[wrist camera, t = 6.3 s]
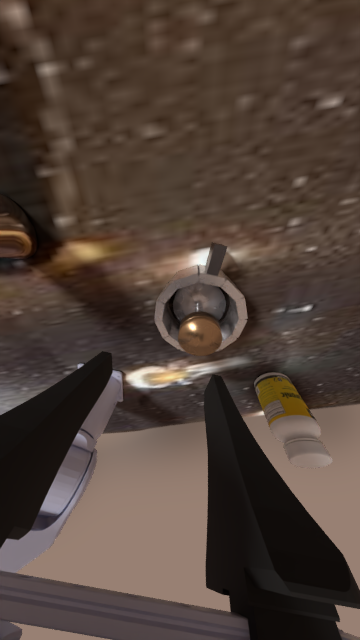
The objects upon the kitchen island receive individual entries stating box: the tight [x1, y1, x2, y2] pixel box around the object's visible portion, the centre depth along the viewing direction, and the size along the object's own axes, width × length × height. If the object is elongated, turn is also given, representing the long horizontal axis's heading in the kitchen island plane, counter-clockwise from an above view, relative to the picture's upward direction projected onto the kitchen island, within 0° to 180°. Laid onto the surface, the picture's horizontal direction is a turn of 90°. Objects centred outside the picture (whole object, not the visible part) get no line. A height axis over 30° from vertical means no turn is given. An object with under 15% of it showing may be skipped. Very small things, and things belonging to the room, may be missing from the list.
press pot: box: [154, 242, 248, 352], centre depth 16 cm, size 11×9×4 cm
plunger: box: [173, 283, 226, 356], centre depth 15 cm, size 6×6×7 cm
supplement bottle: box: [254, 372, 332, 468], centre depth 20 cm, size 5×5×10 cm
